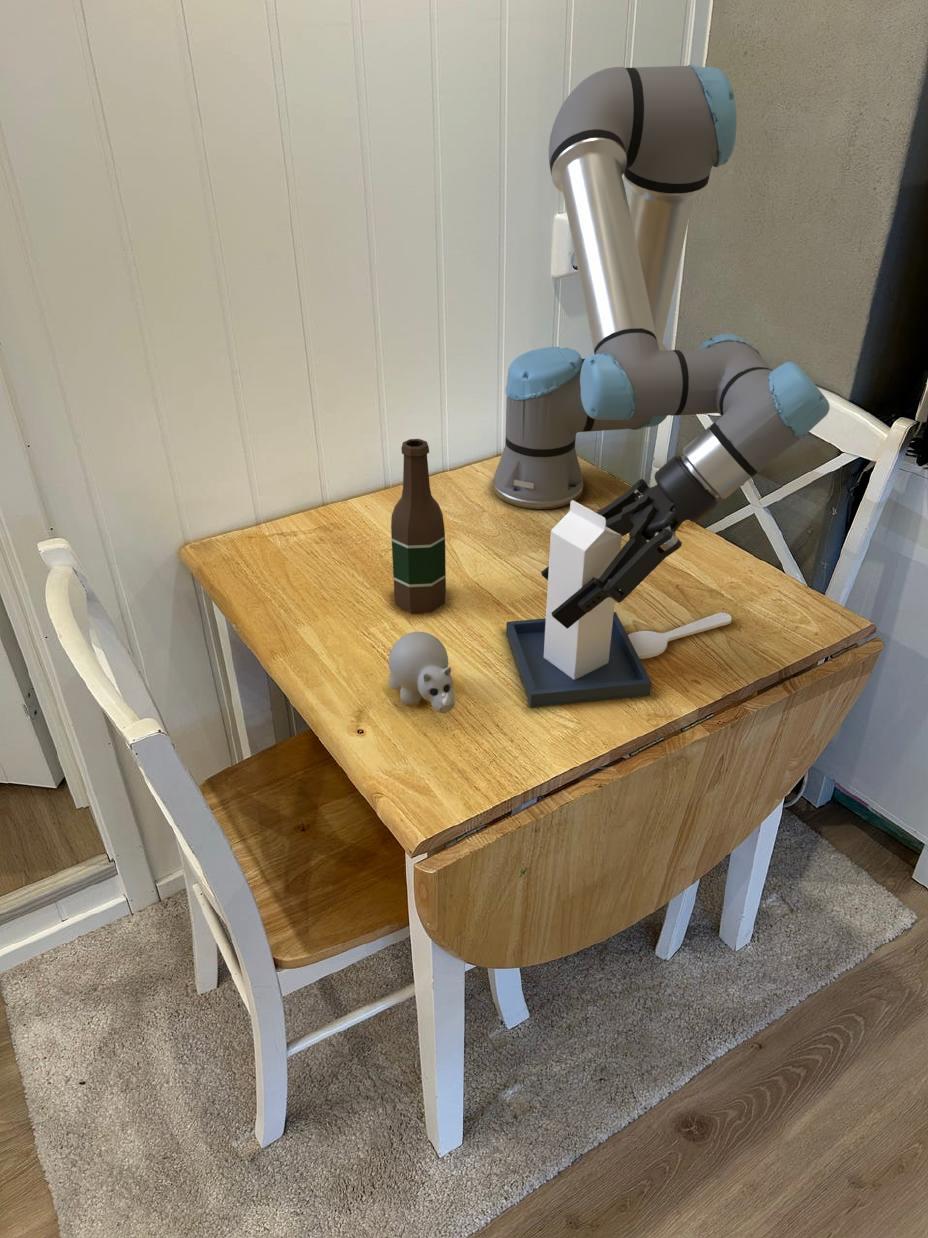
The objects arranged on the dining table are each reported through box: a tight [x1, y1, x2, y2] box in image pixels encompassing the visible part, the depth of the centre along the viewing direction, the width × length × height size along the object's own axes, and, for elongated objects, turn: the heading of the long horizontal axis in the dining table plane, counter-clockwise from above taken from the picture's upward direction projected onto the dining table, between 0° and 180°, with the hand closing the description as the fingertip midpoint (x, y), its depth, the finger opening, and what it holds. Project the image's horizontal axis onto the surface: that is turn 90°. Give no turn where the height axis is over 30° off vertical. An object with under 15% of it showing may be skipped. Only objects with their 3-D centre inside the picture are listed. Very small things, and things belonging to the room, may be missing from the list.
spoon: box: [627, 611, 733, 660], centre depth 128 cm, size 5×18×1 cm, turn 115°
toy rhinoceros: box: [388, 631, 456, 714], centre depth 114 cm, size 7×12×8 cm, turn 25°
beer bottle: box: [390, 438, 447, 614], centre depth 129 cm, size 8×8×24 cm
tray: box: [505, 611, 653, 709], centre depth 123 cm, size 16×15×2 cm
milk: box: [544, 500, 623, 680], centre depth 117 cm, size 6×6×22 cm
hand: (553, 599), depth 117 cm, fingers open, 8 cm apart
